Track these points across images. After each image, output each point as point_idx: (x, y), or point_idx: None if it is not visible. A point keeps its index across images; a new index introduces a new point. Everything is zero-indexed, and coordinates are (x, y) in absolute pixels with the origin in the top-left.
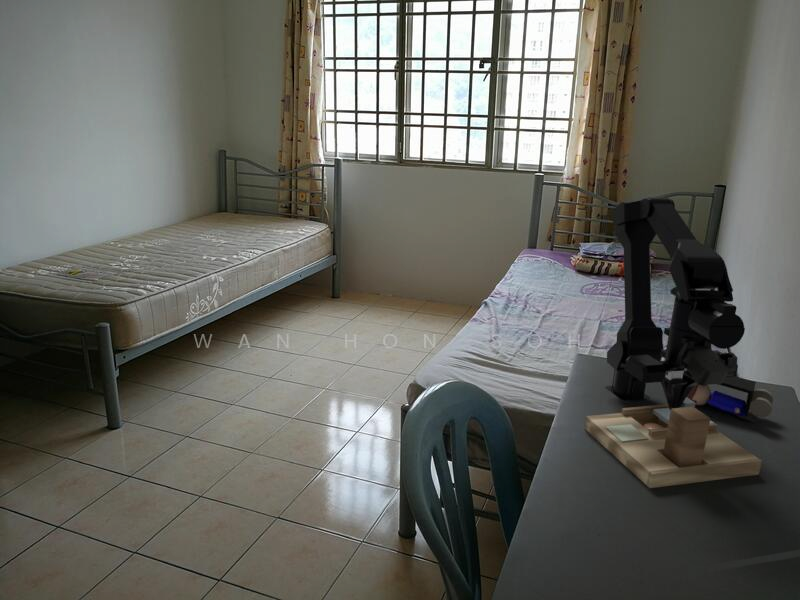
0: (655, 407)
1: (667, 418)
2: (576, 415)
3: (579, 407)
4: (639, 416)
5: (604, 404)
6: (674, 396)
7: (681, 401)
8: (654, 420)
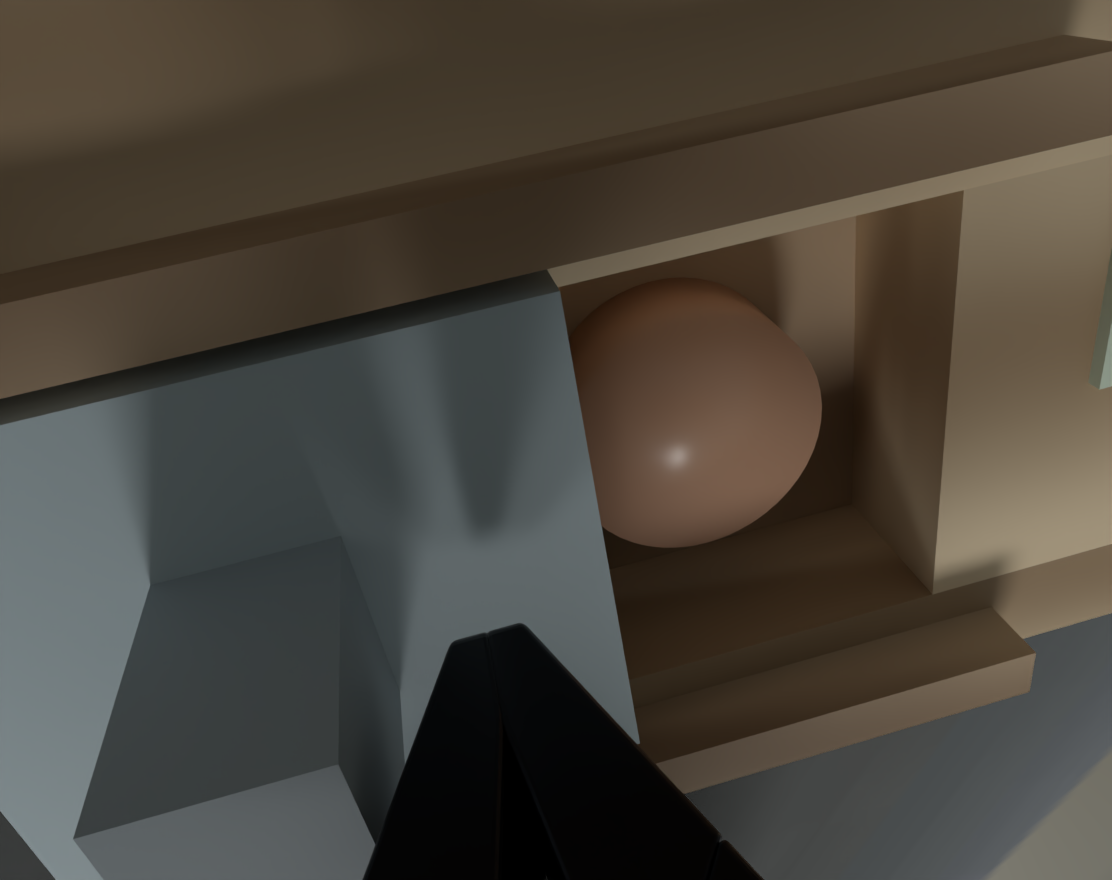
0: None
1: (579, 538)
2: (1087, 684)
3: (980, 795)
4: (805, 620)
5: (759, 871)
6: (732, 857)
7: (445, 801)
8: None
